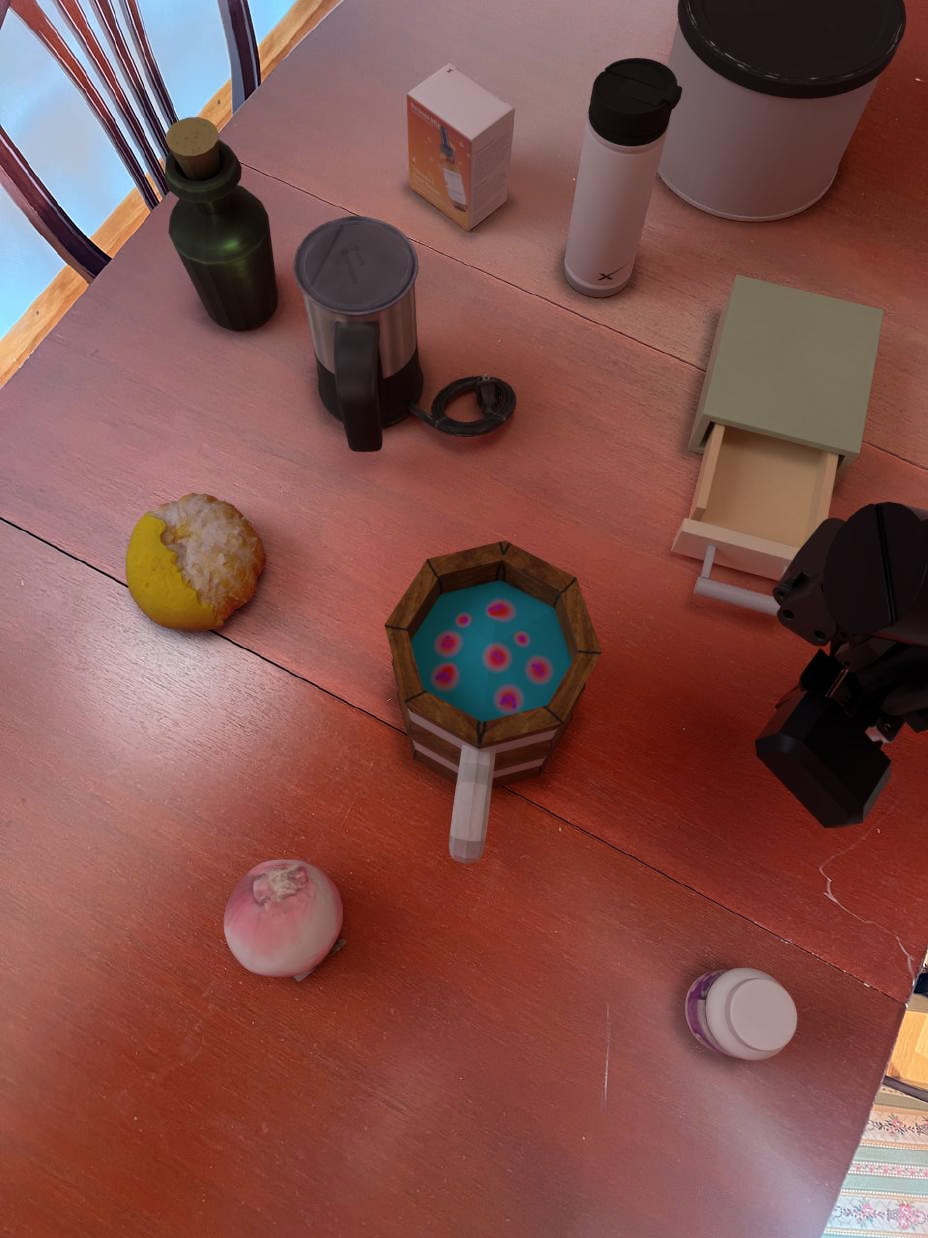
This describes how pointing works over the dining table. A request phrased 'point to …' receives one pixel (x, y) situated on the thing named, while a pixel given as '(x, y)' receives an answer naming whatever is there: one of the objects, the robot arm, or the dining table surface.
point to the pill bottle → (741, 1013)
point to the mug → (488, 673)
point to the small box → (459, 145)
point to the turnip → (284, 919)
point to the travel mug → (617, 172)
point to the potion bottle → (219, 227)
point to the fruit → (193, 563)
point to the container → (771, 98)
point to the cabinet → (791, 368)
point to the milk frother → (377, 334)
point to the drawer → (754, 509)
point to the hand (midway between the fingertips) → (782, 709)
